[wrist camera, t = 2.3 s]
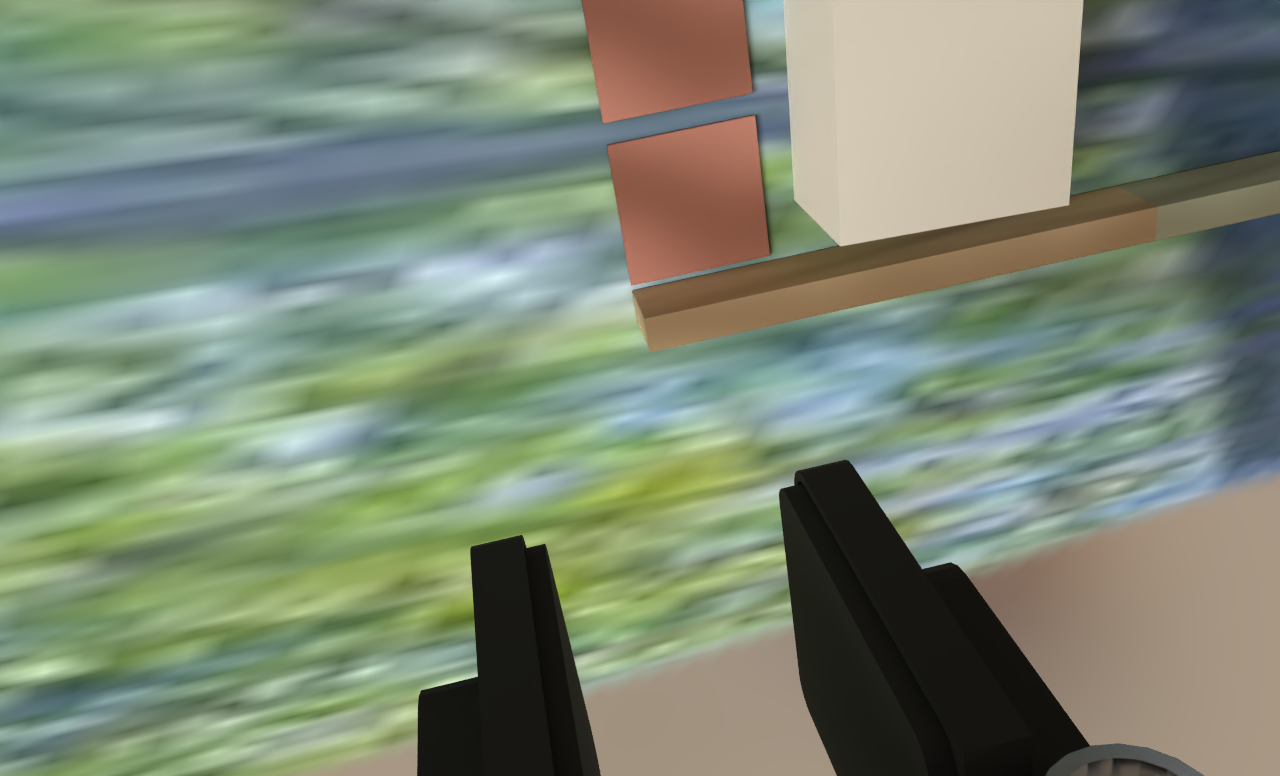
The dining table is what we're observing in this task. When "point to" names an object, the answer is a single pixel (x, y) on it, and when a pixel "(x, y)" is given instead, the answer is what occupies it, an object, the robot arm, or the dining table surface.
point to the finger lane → (839, 276)
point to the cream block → (930, 111)
